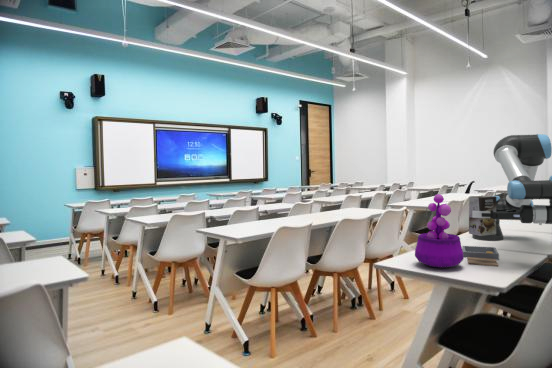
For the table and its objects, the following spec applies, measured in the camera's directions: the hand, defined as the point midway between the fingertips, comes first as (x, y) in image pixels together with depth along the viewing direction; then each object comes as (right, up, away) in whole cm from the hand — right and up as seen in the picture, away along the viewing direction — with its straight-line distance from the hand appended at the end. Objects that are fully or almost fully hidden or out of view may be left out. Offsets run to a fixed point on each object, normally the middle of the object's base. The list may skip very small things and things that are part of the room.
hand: (471, 212), depth 171 cm
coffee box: (+4, -9, -1) cm, 10 cm away
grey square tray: (+10, -20, +13) cm, 26 cm away
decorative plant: (-16, -22, -4) cm, 28 cm away
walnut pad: (+4, -21, 0) cm, 22 cm away
